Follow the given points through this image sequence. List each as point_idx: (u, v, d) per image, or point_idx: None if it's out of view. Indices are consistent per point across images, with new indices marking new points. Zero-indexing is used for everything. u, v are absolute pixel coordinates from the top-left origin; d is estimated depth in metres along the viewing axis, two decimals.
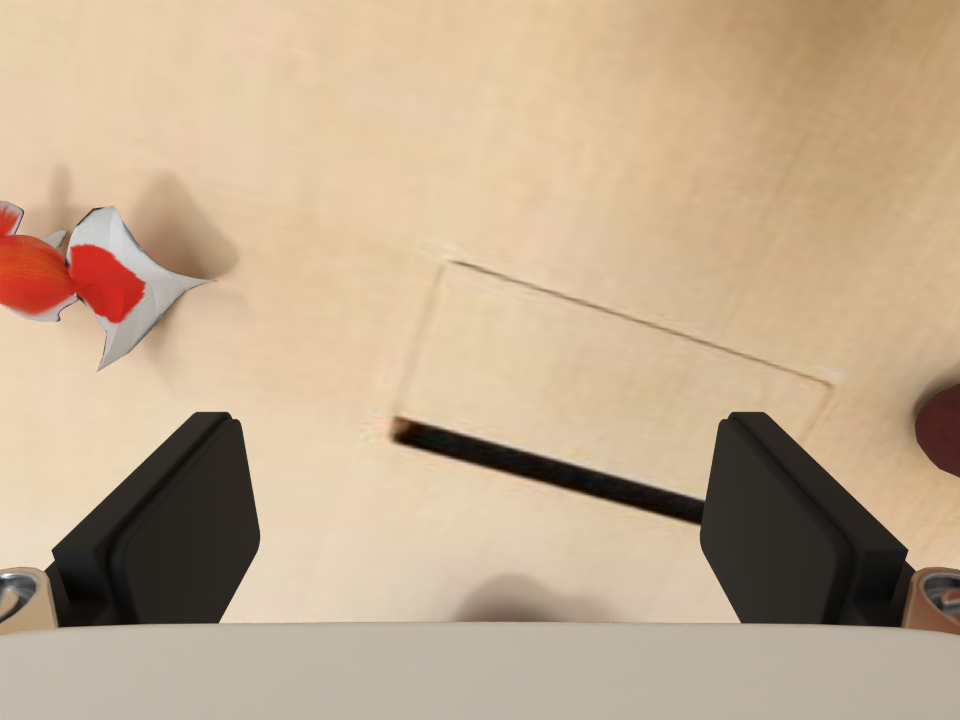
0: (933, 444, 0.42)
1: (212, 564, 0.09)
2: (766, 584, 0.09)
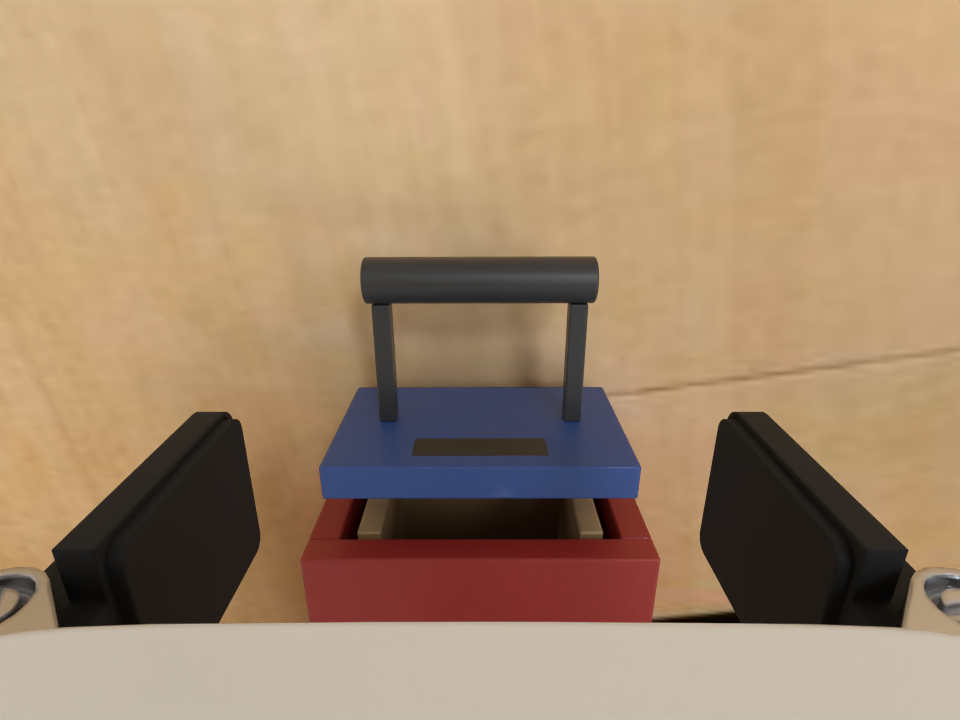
0: None
1: (212, 564, 0.09)
2: (766, 584, 0.09)
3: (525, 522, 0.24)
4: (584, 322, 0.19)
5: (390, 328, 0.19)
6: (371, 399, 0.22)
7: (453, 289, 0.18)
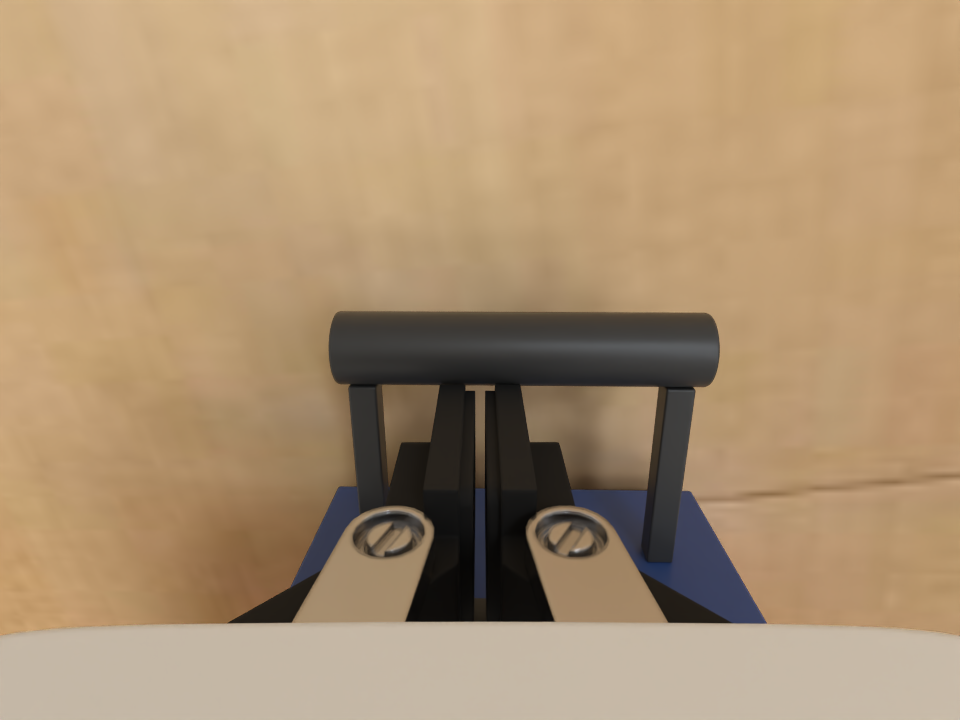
0: None
1: (474, 518, 0.11)
2: None
3: None
4: (688, 417, 0.12)
5: (378, 421, 0.12)
6: (354, 510, 0.15)
7: (478, 366, 0.11)
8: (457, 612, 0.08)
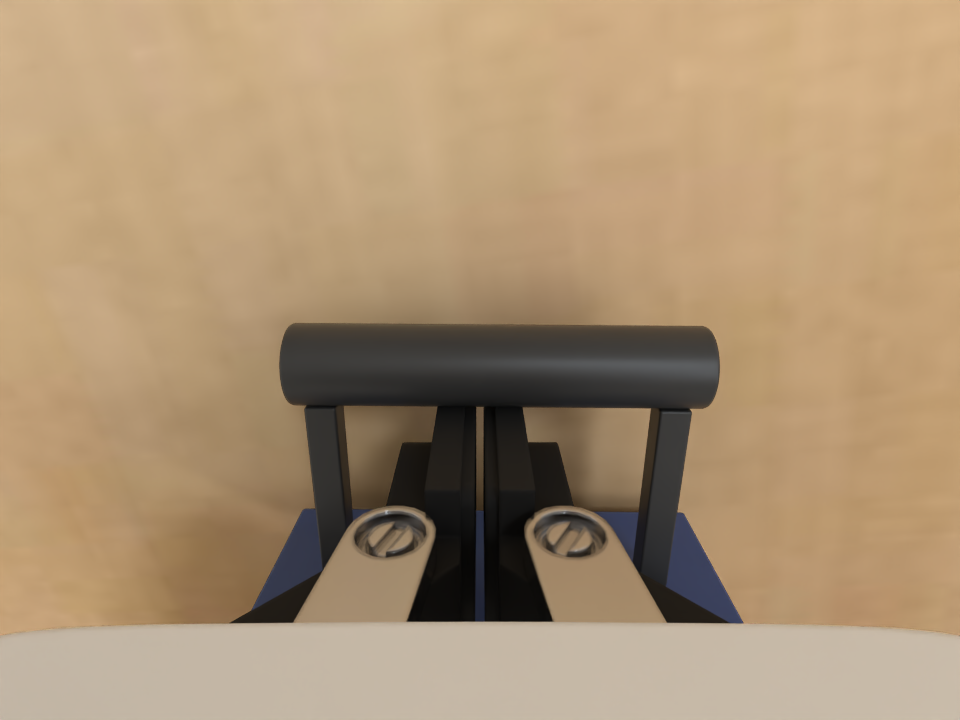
0: None
1: None
2: (484, 532, 0.10)
3: None
4: (683, 441, 0.11)
5: (339, 446, 0.11)
6: (318, 536, 0.14)
7: (449, 387, 0.10)
8: (459, 612, 0.08)
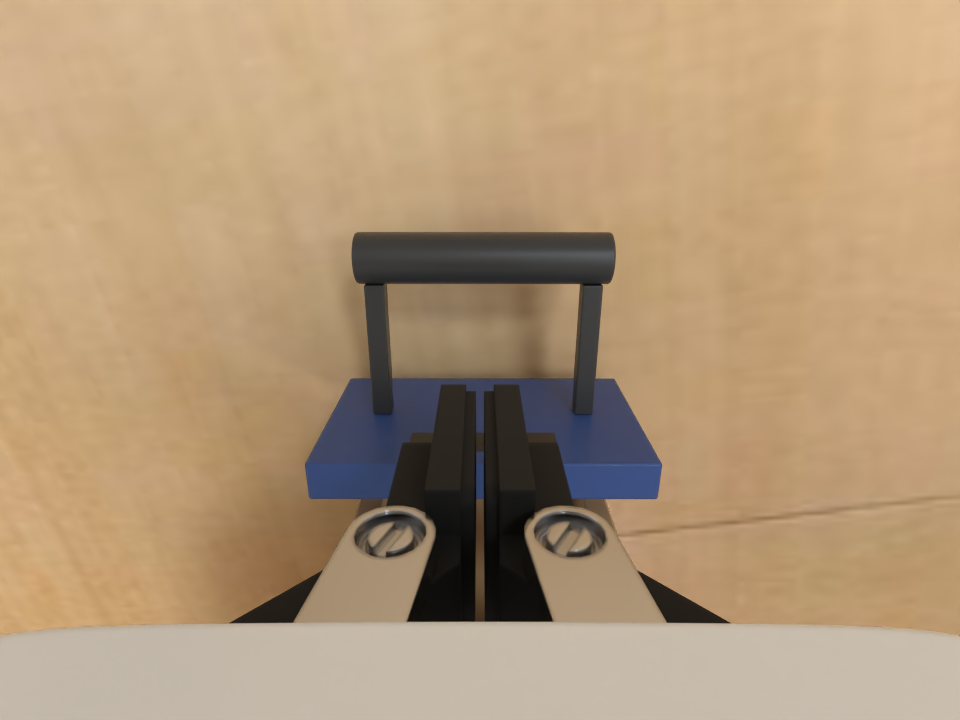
0: None
1: (475, 517, 0.11)
2: None
3: None
4: (598, 305, 0.17)
5: (385, 311, 0.17)
6: (364, 390, 0.20)
7: (454, 267, 0.16)
8: (458, 612, 0.08)
